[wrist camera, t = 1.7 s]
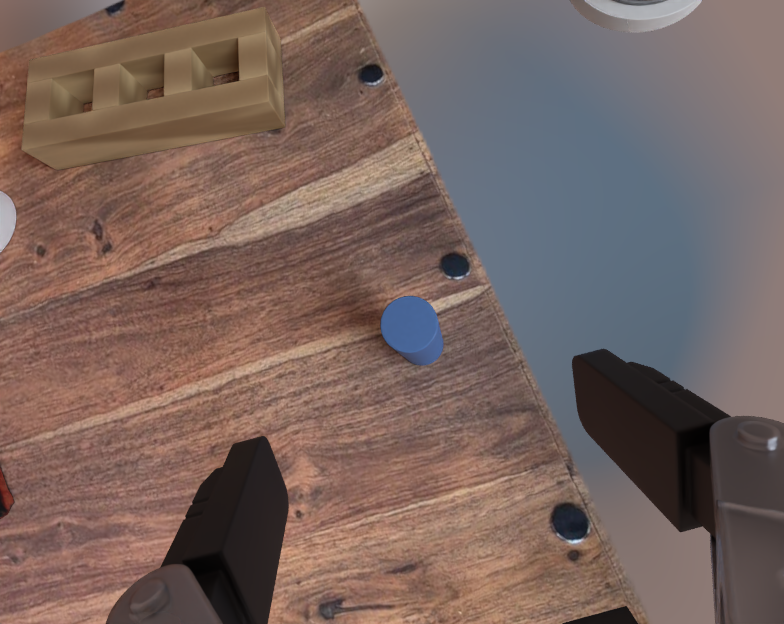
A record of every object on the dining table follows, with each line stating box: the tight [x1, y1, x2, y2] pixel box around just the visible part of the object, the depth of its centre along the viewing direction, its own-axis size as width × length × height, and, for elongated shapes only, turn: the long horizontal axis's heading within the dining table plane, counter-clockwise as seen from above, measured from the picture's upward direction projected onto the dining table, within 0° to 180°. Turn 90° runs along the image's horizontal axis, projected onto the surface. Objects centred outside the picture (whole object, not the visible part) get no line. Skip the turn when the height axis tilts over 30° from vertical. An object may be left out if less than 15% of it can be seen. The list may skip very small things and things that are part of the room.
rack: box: [21, 7, 285, 170], centre depth 39 cm, size 9×23×4 cm, turn 96°
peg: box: [380, 296, 443, 365], centre depth 28 cm, size 3×3×9 cm
